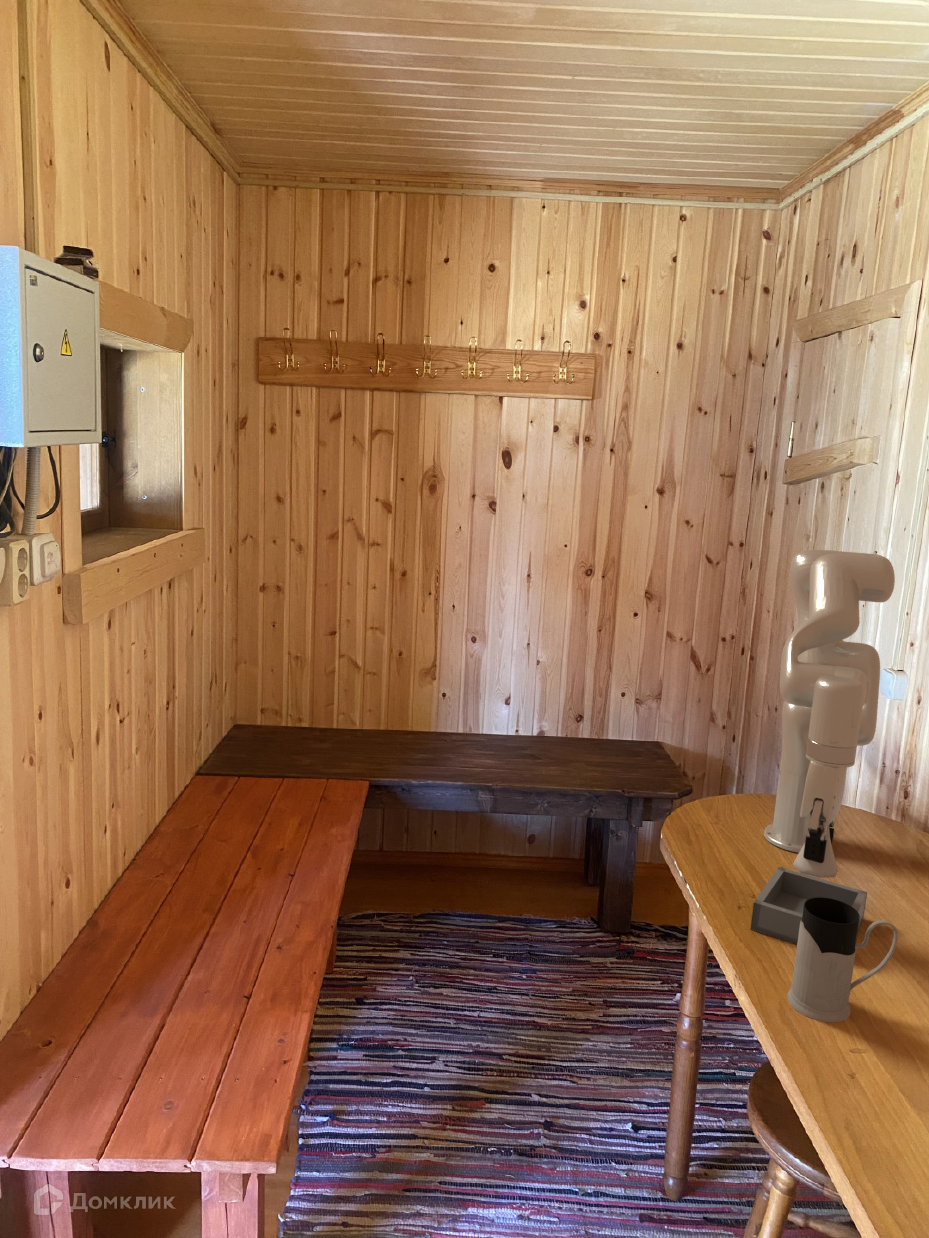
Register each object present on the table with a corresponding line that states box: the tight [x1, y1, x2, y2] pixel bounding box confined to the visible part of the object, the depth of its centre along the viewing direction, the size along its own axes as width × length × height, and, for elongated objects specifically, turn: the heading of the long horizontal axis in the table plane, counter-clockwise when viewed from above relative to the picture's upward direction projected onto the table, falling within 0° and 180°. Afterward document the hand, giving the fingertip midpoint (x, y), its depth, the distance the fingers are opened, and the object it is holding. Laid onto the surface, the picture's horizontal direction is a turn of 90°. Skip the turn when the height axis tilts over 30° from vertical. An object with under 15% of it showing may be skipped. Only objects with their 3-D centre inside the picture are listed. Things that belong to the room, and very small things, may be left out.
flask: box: [792, 817, 838, 879], centre depth 153 cm, size 7×7×10 cm
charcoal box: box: [749, 866, 868, 946], centre depth 156 cm, size 16×15×5 cm
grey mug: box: [786, 897, 899, 1023], centre depth 133 cm, size 9×14×15 cm, turn 88°
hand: (817, 853), depth 154 cm, fingers closed on flask, 4 cm apart
